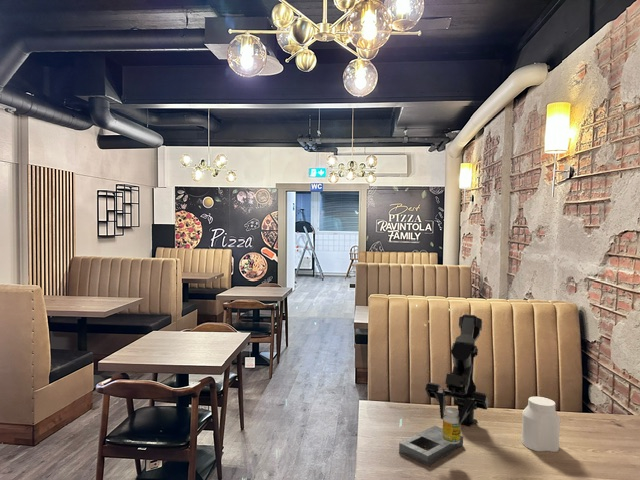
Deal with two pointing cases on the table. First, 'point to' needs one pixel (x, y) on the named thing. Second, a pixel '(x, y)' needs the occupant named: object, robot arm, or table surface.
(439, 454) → the grey slotted block
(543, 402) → the jar
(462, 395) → the robot arm
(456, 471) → the table surface
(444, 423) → the supplement bottle
